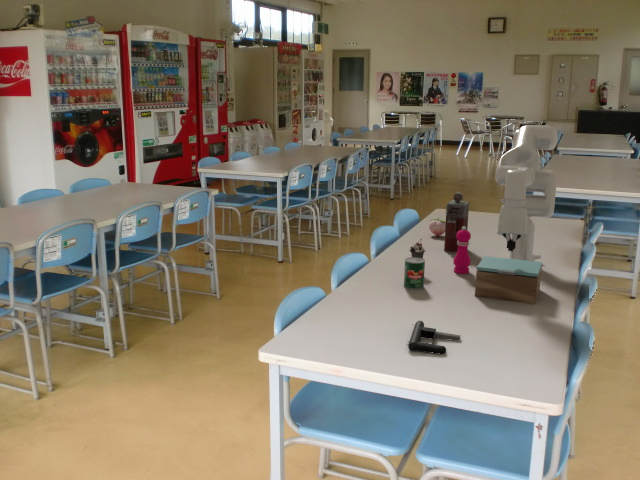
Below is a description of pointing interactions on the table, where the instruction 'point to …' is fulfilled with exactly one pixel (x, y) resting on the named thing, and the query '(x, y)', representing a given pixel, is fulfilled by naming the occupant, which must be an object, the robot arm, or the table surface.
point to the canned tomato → (414, 273)
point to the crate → (507, 286)
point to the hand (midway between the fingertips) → (510, 250)
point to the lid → (510, 266)
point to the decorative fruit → (437, 227)
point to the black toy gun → (428, 333)
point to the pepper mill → (462, 252)
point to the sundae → (417, 250)
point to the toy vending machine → (455, 221)
